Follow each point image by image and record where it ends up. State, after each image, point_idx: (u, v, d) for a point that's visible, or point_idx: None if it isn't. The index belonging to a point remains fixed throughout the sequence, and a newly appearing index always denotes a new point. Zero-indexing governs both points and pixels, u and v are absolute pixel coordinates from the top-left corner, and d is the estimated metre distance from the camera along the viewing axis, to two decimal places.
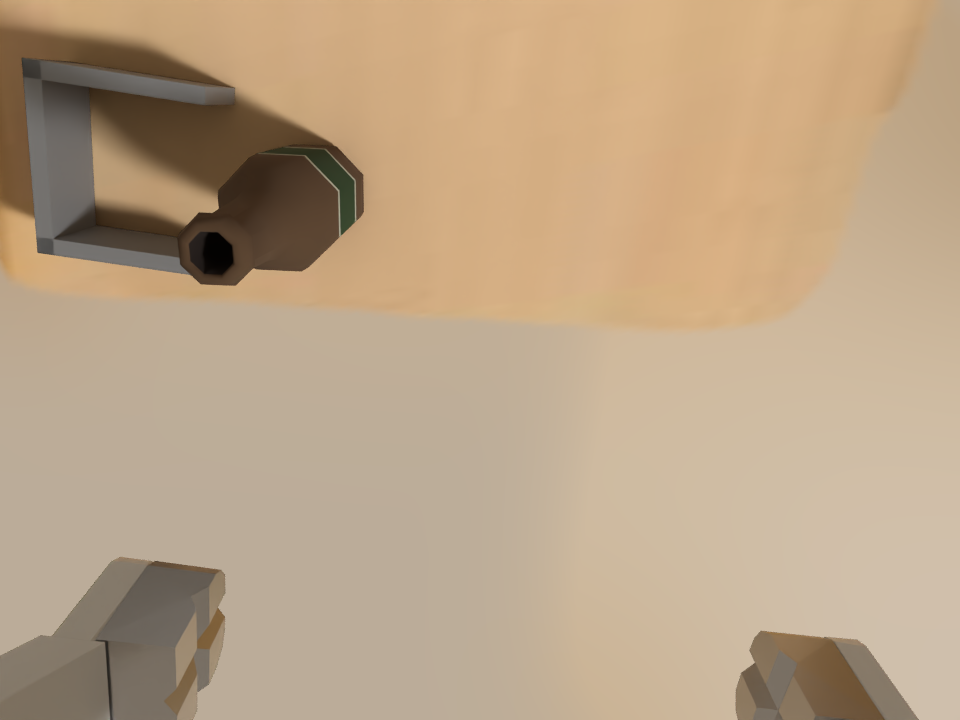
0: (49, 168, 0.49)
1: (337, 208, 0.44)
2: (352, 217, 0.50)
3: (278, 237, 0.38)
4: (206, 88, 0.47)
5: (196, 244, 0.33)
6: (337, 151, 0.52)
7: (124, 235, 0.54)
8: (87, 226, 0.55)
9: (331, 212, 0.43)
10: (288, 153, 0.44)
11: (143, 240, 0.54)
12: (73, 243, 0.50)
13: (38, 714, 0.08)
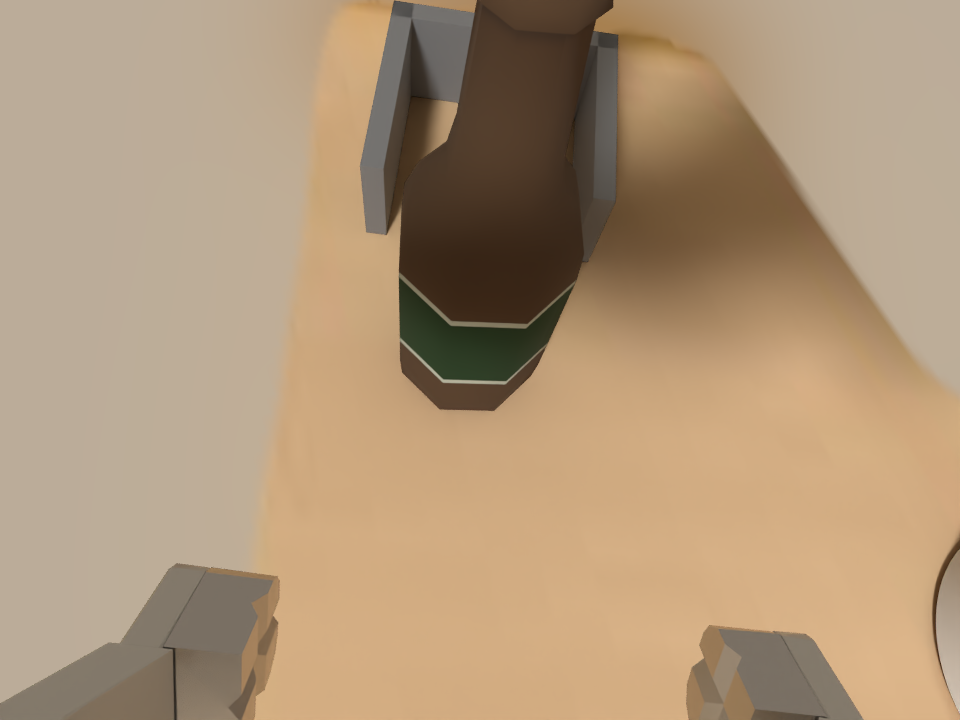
0: None
1: (501, 319, 0.26)
2: (455, 371, 0.31)
3: (509, 157, 0.21)
4: (612, 204, 0.36)
5: None
6: (531, 371, 0.36)
7: (404, 111, 0.42)
8: (412, 81, 0.44)
9: (505, 299, 0.25)
10: None
11: (399, 126, 0.41)
12: (406, 36, 0.39)
13: None
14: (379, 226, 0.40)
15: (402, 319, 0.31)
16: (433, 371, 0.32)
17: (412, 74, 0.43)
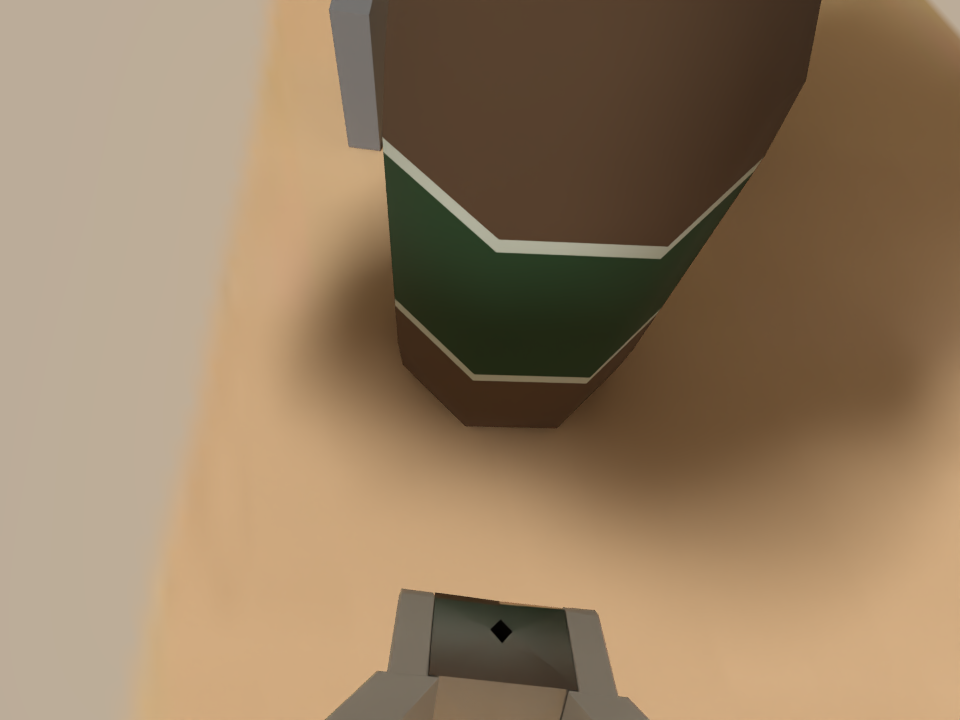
0: None
1: (612, 234, 0.12)
2: (497, 357, 0.16)
3: None
4: None
5: None
6: (620, 362, 0.21)
7: None
8: None
9: (632, 175, 0.10)
10: None
11: None
12: None
13: None
14: (368, 135, 0.25)
15: (396, 259, 0.16)
16: (456, 360, 0.18)
17: None
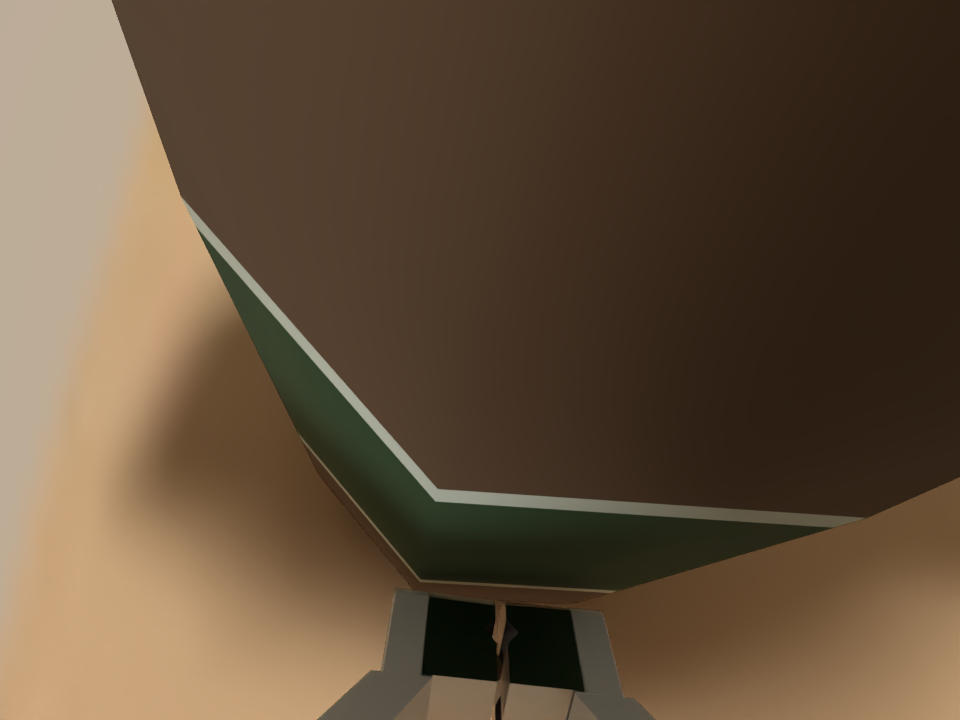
0: None
1: (737, 496, 0.04)
2: (458, 573, 0.09)
3: None
4: None
5: None
6: None
7: None
8: None
9: (860, 410, 0.03)
10: None
11: None
12: None
13: None
14: None
15: (282, 393, 0.09)
16: (392, 547, 0.10)
17: None
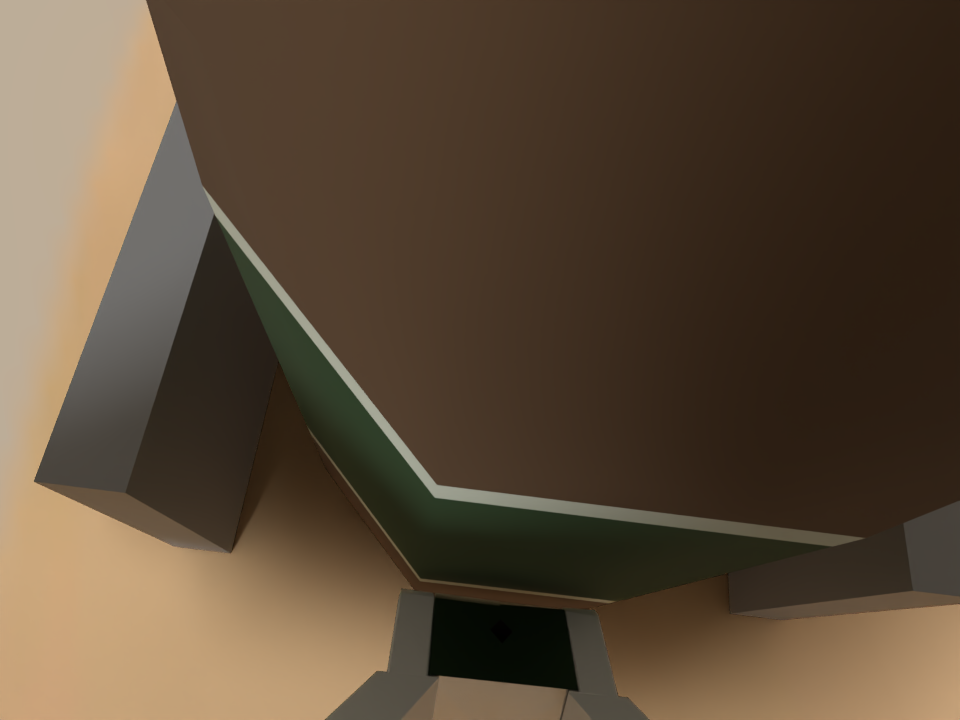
0: None
1: (734, 509, 0.04)
2: (457, 574, 0.09)
3: None
4: None
5: None
6: None
7: None
8: None
9: (857, 426, 0.03)
10: None
11: None
12: None
13: None
14: (203, 545, 0.14)
15: (292, 385, 0.09)
16: (395, 545, 0.10)
17: None
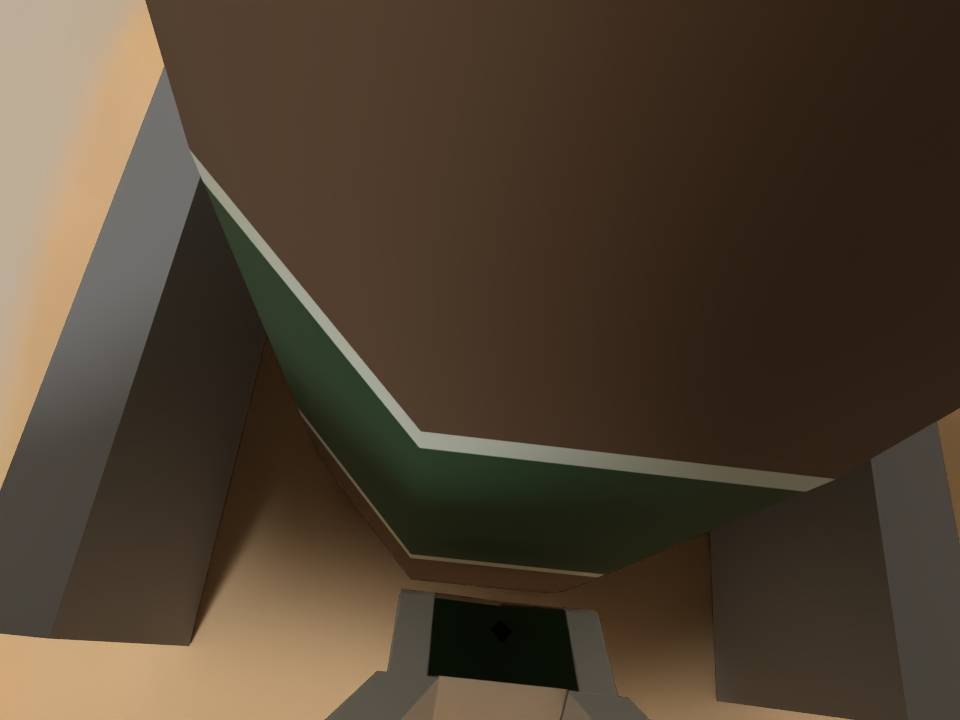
0: None
1: (708, 449, 0.05)
2: (447, 546, 0.09)
3: None
4: None
5: None
6: None
7: None
8: None
9: (816, 347, 0.03)
10: None
11: (231, 326, 0.14)
12: None
13: None
14: None
15: (281, 361, 0.09)
16: (385, 523, 0.11)
17: None
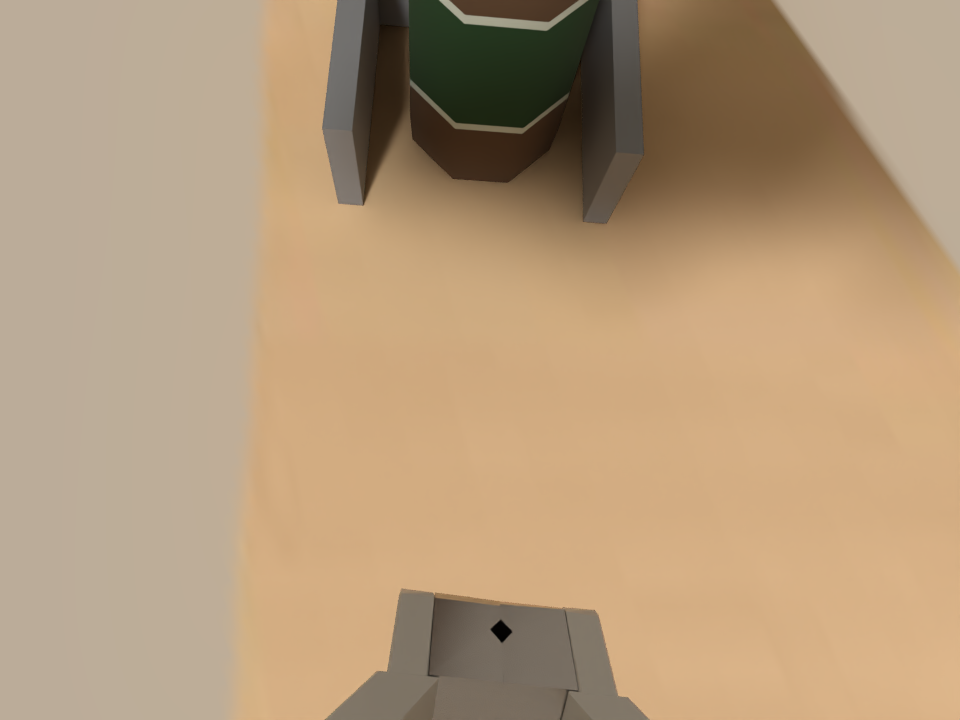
0: None
1: (520, 13, 0.24)
2: (468, 107, 0.29)
3: None
4: (639, 158, 0.29)
5: None
6: (550, 136, 0.33)
7: (373, 47, 0.34)
8: (381, 6, 0.36)
9: None
10: None
11: (369, 67, 0.33)
12: None
13: None
14: (353, 196, 0.33)
15: (412, 46, 0.28)
16: (445, 116, 0.30)
17: None
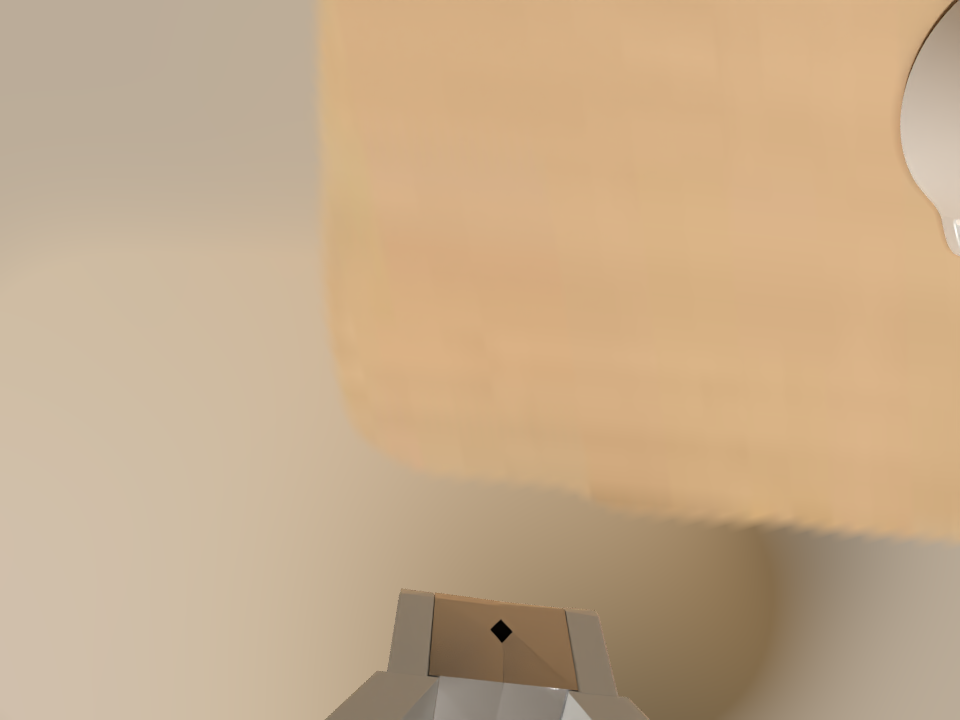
0: None
1: None
2: None
3: None
4: None
5: None
6: None
7: None
8: None
9: None
10: None
11: None
12: None
13: None
14: None
15: None
16: None
17: None
